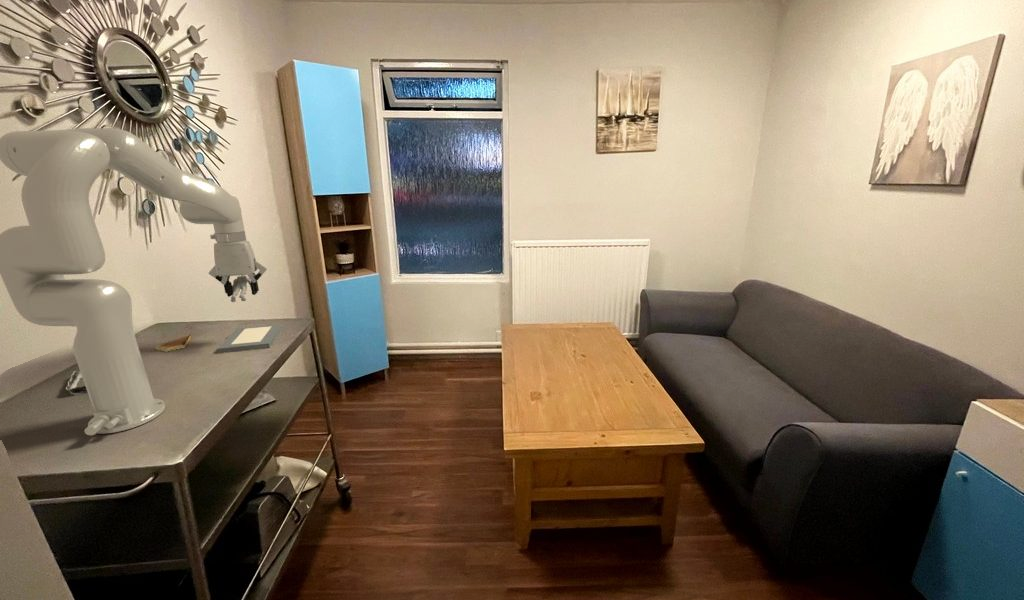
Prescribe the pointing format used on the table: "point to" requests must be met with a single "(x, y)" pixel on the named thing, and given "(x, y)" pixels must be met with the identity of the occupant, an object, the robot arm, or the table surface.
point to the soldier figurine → (240, 287)
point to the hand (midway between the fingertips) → (242, 294)
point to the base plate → (250, 338)
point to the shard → (174, 344)
